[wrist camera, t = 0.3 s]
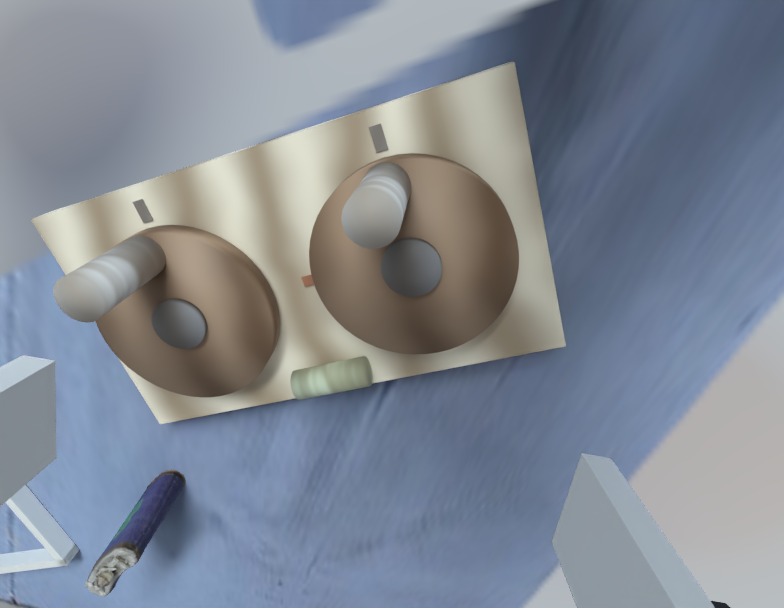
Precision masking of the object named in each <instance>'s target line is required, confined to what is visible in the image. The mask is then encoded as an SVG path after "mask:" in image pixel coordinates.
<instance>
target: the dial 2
mask: <svg viewBox="0 0 784 608" xmlns="http://www.w3.org/2000/svg"><path fill="white" fill-rule="evenodd" d="M309 263H310V270H311V275H312V279H313V282H314V285H315V288H316V291H317V293H318V295H319V297H320V299H321V301H322V302H323V304H324V306H325V307H326V309H327V310H328V311H329V313H330V314H331V315H332V316H333V317H334V319H335V320H336V321H337V322H338V323H339V324H340V325H341V326H342V327H343V328H345V329H346V330H347V331H348V332H350V333H351V334H353V335H354V336H355V337H357V338H359V339H360V340H362V341H364V342H366V343H368V344H370V345H373V346H375V347H377V348H380V349H384V350H387V351H391V352H396V353H401V354H413V355H416V354H431V353H438V352H442V351H446V350H450V349H453V348H455V347H458V346H460V345H463V344H465V343H466V342H468V341H470V340H472V339H474V338H475V337H477V336H478V335H479V334H481V333H482V332H484V331H485V330H486V329H487V328H488V327H489V326H490V325H491V324H493V322H494V321H495V320H496V319H497V318H498V317H499V315H500V314H501V313H502V311H503V310H504V308H505V307H506V305H507V303H508V301H509V299H510V297H511V295H512V293H513V290H514V287H515V284H516V280H517V275H518V269H519V249H518V242H517V237H516V234H515V230H514V227H513V224H512V221H511V219H510V216H509V214H508V212H507V210H506V207H505V206H504V204H503V202H502V201H501V199H500V198H499V196H498V195H497V193H496V192H495V191H494V190H493V189H492V187H491V186H490V185H489V184H488V183H487V182H486V181H485V180H483V179H482V178H481V177H480V176H479V175H478V174H476V173H475V172H473V171H472V170H470V169H469V168H467V167H465V166H463V165H461V164H459V163H457V162H455V161H452V160H449V159H446V158H443V157H440V156H435V155H429V154H419V153H408V154H397V155H393V156H388V157H384V158H381V159H378V160H376V161H373V162H370V163H369V164H367V165H365V166H363V167H361V168H359V169H358V170H356V171H355V172H354V173H352V174H351V175H350V176H348V177H347V178H346V179H345V180H344V181H343V182H342V183H341V184H340V185H339V186H338V187H337V188H336V189H335V191H334V192H333V193H332V194H331V196H330V197H329V198H328V199H327V201H326V202H325V203H324V205H323V207H322V209H321V210H320V212H319V214H318V216H317V218H316V221H315V224H314V226H313V230H312V234H311V238H310V247H309Z"/></svg>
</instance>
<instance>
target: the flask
mask: <svg viewBox="0 0 784 608" xmlns="http://www.w3.org/2000/svg"><path fill="white" fill-rule="evenodd" d="M184 479H185V478H184V475H182V474H181V473H180V472H178V471H175V470H166V471H165V472H163V473H161V474H160V475H159V476H158V477H156V478H155V480H153V481H152V482H151V484H150V485H149V486H148V487H147V489H146V491H145V492H144V494H143V495H142V497H141V498H140V500H139V501H138V503H137V504H136V505H135V507H134V508H133V510H132V512H131V513H130V514H129V516H128V517H127V519H126V520H125V522H124V523H123V524H122V526H121V527H120V529H119V531H118V532H117V534H116V535H115V536H114V538H113V539H112V541H111V542H110V544H109V545H108V547H107V548H106V550H105V551H104V552H103V554H102V555H101V556H100V558H99V559H98V560H97V562H96V564H95V565H94V567H93V569H92V571H91V573H90V575H89V577H88V581H87V582H86V583H85V587H87V588H88V589H89V591H90V592H92V593H94V594H97V595H99V596H106V595H108V594H109V593H110V592H111V591H112V590H113V588H114V587H115V585H116V583H117V581H118V579H119V577H120V576H121V574H122V573H123V572H124V571H125V570H126V569H128V568H130V567H132V566H134V565H135V564H136V563H137V562H138V561H139V559H140V557H141V555H142V554H143V552H144V549H145V548H146V546H147V544H148V543H149V541H150V540H151V538H152V536H153V534H154V533H155V531H156V530H157V528H158V526H159V525H160V523H161V522H162V521H163V519H164V517H165V515H166V513H167V511H168V510H169V508H170V506H171V504H172V503H173V501H174V500H175V498H176V496H177V495H178V493H179V492H180V490H181V488H182V486H183V485H184V484H185V480H184Z"/></svg>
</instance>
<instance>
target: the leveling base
mask: <svg viewBox="0 0 784 608" xmlns="http://www.w3.org/2000/svg"><path fill="white" fill-rule="evenodd" d="M408 153H419V154H429V155H435V156H440V157H443V158H446V159H449V160H452V161H455V162H457V163H459V164H461V165H463V166H465V167H467V168H469V169H470V170H472V171H473V172H475V173H476V174H478V175H479V176H480V177H481V178H482V179H483V180H485V181H486V182H487V183H488V184H489V185H490V186H491V187H492V189H493V190H494V191H495V192H496V193H497V195H498V196H499V198H500V199H501V201H502V202H503V204H504V206H505V207H506V210H507V212H508V214H509V216H510V219H511V221H512V224H513V227H514V230H515V234H516V237H517V242H518V249H519V269H518V275H517V280H516V284H515V287H514V290H513V293H512V295H511V297H510V299H509V301H508V303H507V305H506V307H505V308H504V310H503V311H502V313H501V314H500V315H499V317H498V318H497V319H496V320H495V321H494V322H493V324H491V325H490V326H489V327H488V328H487V329H486V330H485V331H484V332H482V333H481V334H479V335H478V336H477V337H475V338H474V339H472V340H470V341H468V342H466V343H465V344H463V345H460V346H458V347H455V348H453V349H450V350H446V351H442V352H438V353H431V354H416V355H413V354H401V353H396V352H391V351H387V350H384V349H380V348H377V347H375V346H373V345H370V344H368V343H366V342H364V341H362V340H360V339H359V338H357V337H355V336H354V335H353V334H351V333H350V332H348V331H347V330H346V329H345V328H343V327H342V326H341V325H340V324H339V323H338V322H337V321H336V320H335V319H334V317H333V316H332V315H331V314H330V313H329V311H328V310H327V309H326V307H325V306H324V304H323V302H322V301H321V299H320V297H319V295H318V293H317V291H316V288H315V285H314V282H313V279H312V275H311V270H310V263H309V247H310V238H311V234H312V230H313V226H314V224H315V221H316V218H317V216H318V214H319V212H320V210H321V209H322V207H323V205H324V203H325V202H326V201H327V199H328V198H329V197H330V196H331V194H332V193H333V192H334V191H335V189H336V188H337V187H338V186H339V185H340V184H341V183H342V182H343V181H344V180H345V179H346V178H347V177H348V176H350V175H351V174H352V173H354V172H355V171H356V170H358V169H359V168H361V167H363V166H365V165H367V164H369V163H370V162H373V161H376V160H378V159H381V158H384V157H388V156H393V155H397V154H408ZM31 220H32V222H33V224H34V225H35V227H36V228H37V230H38V231H39V233H40V235H41V236H42V238H43V239H44V241H45V243H46V244H47V246H48V247H49V249H50V250H51V252H52V254H53V255H54V257H55V258H56V260H57V262H58V263H59V265H60V266H61V268H62V269H63V271H64V273H65V274H66V275H67V274H69V273H71V272H72V271H74V270H76V269H77V268H79V267H81V266H83V265H84V264H86V263H88V262H90V261H91V260H93V259H95V258H97V257H98V256H100V255H102V254H104V253H105V252H107V251H109V250H110V249H111V248H113V247H114V246H115V245H117V244H118V243H120V242H122V241H123V240H125V239H127V238H129V237H130V236H132V235H134V234H136V233H137V232H140V231H142V230H145V229H147V228H151V227H155V226H161V225H184V226H189V227H194V228H198V229H201V230H205V231H208V232H210V233H212V234H215V235H217V236H219V237H221V238H223V239H225V240H226V241H228V242H230V243H231V244H233V245H234V246H235V247H237V248H238V249H240V250H241V251H242V252H243V253H244V254H246V255H247V256H248V257H249V258H250V259H251V260H252V261H253V262H254V263H255V265H256V266H257V267H258V268H259V269H260V270H261V272H262V273H263V275H264V276H265V278H266V279H267V281H268V283H269V284H270V286H271V288H272V290H273V293H274V295H275V298H276V301H277V304H278V309H279V314H280V334H279V338H278V343H277V345H276V348H275V350H274V352H273V354H272V355H271V357H270V359H269V361H268V362H267V364H266V366H265V367H264V369H263V371H262V372H261V373H260V374H259V376H258V377H257V378H256V379H255V380H254V381H252V382H251V383H250V384H249V385H247V386H246V387H244V388H242V389H241V390H238V391H236V392H234V393H231V394H227V395H223V396H217V397H191V396H186V395H181V394H177V393H174V392H170V391H168V390H165V389H163V388H160V387H158V386H156V385H154V384H152V383H150V382H148V381H147V380H145V379H144V378H142V377H140V376H139V375H137V374H136V373H135V372H134V371H132V370H131V369H130V368H128V367H127V366H126V365H125V364H124V363H123V362H122V361H121V360H120V359H119V360H120V361H121V363H122V364H123V366H124V368H125V369H126V371H127V372H128V374H129V376H130V377H131V379H132V380H133V382H134V383H135V385H136V387H137V388H138V390H139V391H140V393H141V395H142V396H143V398H144V399H145V401H146V402H147V404H148V406H149V407H150V409H151V410H152V412H153V414H154V415H155V417H156V418H157V420H158V421H159V423H160V424H164V423H169V422H175V421H180V420H185V419H190V418H195V417H201V416H206V415H211V414H216V413H221V412H227V411H232V410H237V409H242V408H247V407H253V406H258V405H263V404H268V403H273V402H279V401H284V400H289V399H294V398H296V399H298V400H302V399H307V398H312V397H317V396H323V395H328V394H333V393H338V392H344V391H349V390H354V389H359V388H364V387H370V386H371V385H372V383H378V382H383V381H388V380H393V379H398V378H404V377H409V376H414V375H419V374H424V373H430V372H435V371H440V370H445V369H450V368H456V367H461V366H466V365H471V364H476V363H482V362H487V361H492V360H497V359H502V358H508V357H513V356H518V355H523V354H528V353H534V352H539V351H544V350H549V349H555V348H560V347H565V346H566V343H565V338H564V332H563V327H562V321H561V316H560V310H559V305H558V299H557V294H556V288H555V282H554V277H553V271H552V266H551V260H550V255H549V249H548V244H547V238H546V233H545V227H544V222H543V216H542V210H541V205H540V199H539V194H538V188H537V183H536V177H535V172H534V166H533V161H532V155H531V150H530V144H529V138H528V133H527V127H526V122H525V116H524V111H523V105H522V100H521V94H520V89H519V83H518V78H517V72H516V66H515V62H508V63H505V64H502V65H499V66H496V67H493V68H489V69H486V70H483V71H480V72H477V73H474V74H471V75H468V76H465V77H462V78H459V79H456V80H453V81H450V82H447V83H443V84H440V85H437V86H434V87H431V88H428V89H425V90H422V91H419V92H416V93H413V94H410V95H407V96H404V97H401V98H397V99H394V100H391V101H388V102H385V103H382V104H379V105H376V106H373V107H370V108H367V109H364V110H361V111H358V112H355V113H351V114H348V115H345V116H342V117H339V118H336V119H333V120H330V121H327V122H324V123H321V124H318V125H315V126H312V127H309V128H305V129H302V130H299V131H296V132H293V133H290V134H287V135H284V136H281V137H278V138H275V139H272V140H269V141H266V142H263V143H259V144H256V145H253V146H250V147H247V148H244V149H241V150H238V151H235V152H232V153H229V154H226V155H223V156H220V157H217V158H213V159H210V160H207V161H204V162H201V163H198V164H195V165H192V166H189V167H186V168H183V169H180V170H177V171H174V172H171V173H168V174H164V175H161V176H158V177H155V178H152V179H149V180H146V181H143V182H140V183H137V184H134V185H131V186H128V187H125V188H121V189H119V190H115V191H112V192H109V193H106V194H103V195H100V196H97V197H94V198H91V199H88V200H85V201H82V202H79V203H76V204H73V205H69V206H66V207H63V208H60V209H57V210H54V211H51V212H48V213H46V214H43V215H41V216H38V217H36V218H33V219H31ZM95 322H96V321H95Z"/></svg>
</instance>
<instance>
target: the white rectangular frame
mask: <svg viewBox="0 0 784 608" xmlns="http://www.w3.org/2000/svg"><path fill="white" fill-rule="evenodd" d="M6 504H7V505H8V506H9V507H10V508H11V509H12V510H13V512H14V513H15V514H16V515H17V516H18V517H19V518H20V520H21V521H22V522H23V523H24V524H25V525H26V526H27V528H28V529H29V530H30V531H31V532H32V533H33V535H34V536H35V537H36V538H37V539H38V540H39V541H40V543H41V544H42V545H43V546H44V547H45V548H43V549H36V550H28V551H21V552H13V553H6V554H0V574H2V573H10V572H18V571H26V570H35V569H43V568H51V567H59V566H67V565H69V564H70V562H71V561H72V560H73V558H74V557H75V555H76V554H77V553H78V551H79V548H78V547H77V546H76V545H75V544H74V542H73V541H72V540H71V539H70V538H69V536H68V535H67V534H66V533H65V532H64V530H63V529H62V528H61V527H60V526H59V524H58V523H57V522H56V521H55V519H54V518H53V517H52V516H51V515H50V513H49V512H48V511H47V510H46V509H45V507H44V506H43V505H42V504H41V503H40V501H39V500H38V499H37V498H36V497H35V495H34V494H33V493H32V492H31V491H30V489H29V488H28V487H27V486H26V485H25V486H23V487H22V488H21V489H20V490H19V491H18V492H17V493H15V494H14V495H13V496H12V497H11V498H10V499H8V500H7V501H6Z"/></svg>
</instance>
